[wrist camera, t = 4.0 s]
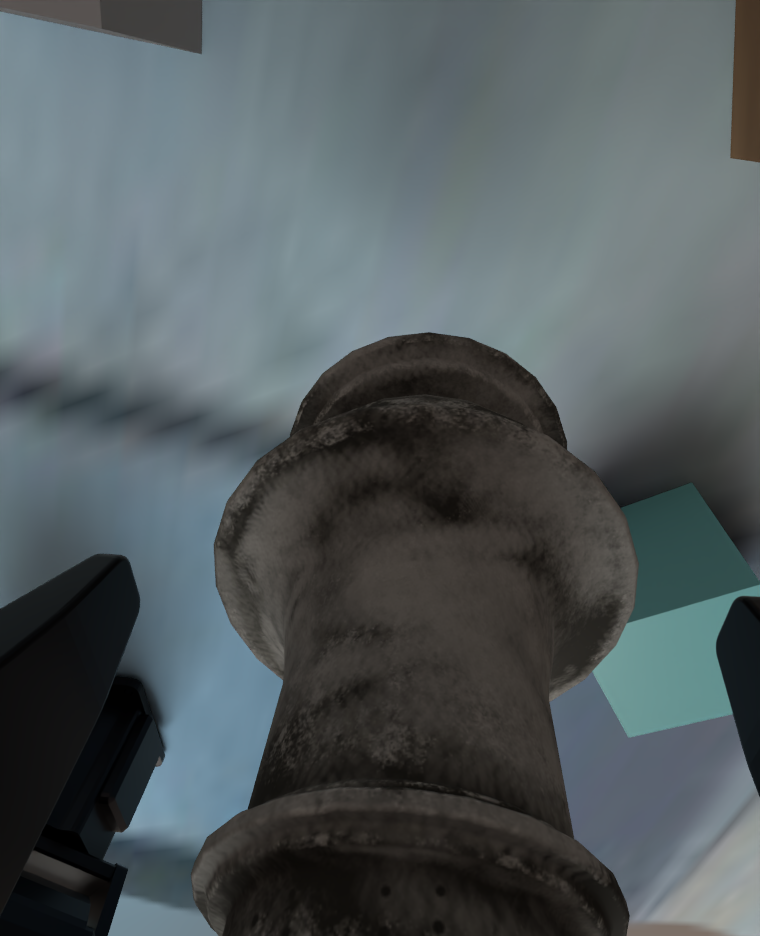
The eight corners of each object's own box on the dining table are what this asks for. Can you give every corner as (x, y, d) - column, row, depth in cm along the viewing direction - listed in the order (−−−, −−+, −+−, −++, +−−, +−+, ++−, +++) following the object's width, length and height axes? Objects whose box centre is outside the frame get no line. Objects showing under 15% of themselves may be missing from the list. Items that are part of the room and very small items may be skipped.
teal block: (593, 623, 23) (628, 737, 19) (547, 532, 21) (574, 638, 17) (727, 583, 21) (797, 699, 17) (690, 481, 19) (761, 583, 15)
